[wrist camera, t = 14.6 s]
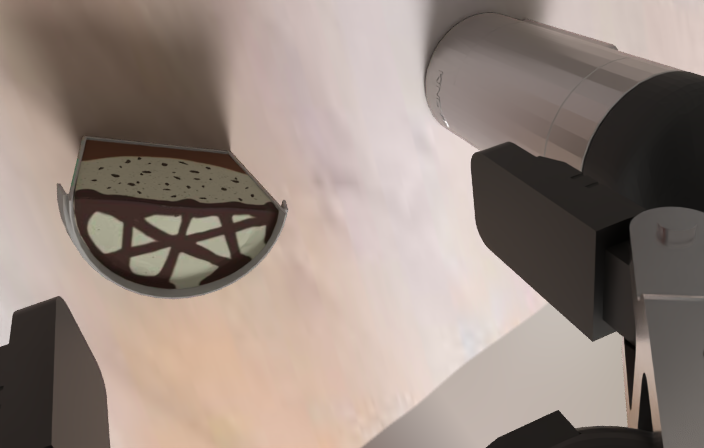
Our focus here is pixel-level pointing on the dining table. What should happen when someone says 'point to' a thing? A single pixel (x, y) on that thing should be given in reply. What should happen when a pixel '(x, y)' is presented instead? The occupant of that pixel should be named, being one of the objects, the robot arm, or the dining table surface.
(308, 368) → the dining table surface
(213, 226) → the food container
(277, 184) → the dining table surface
